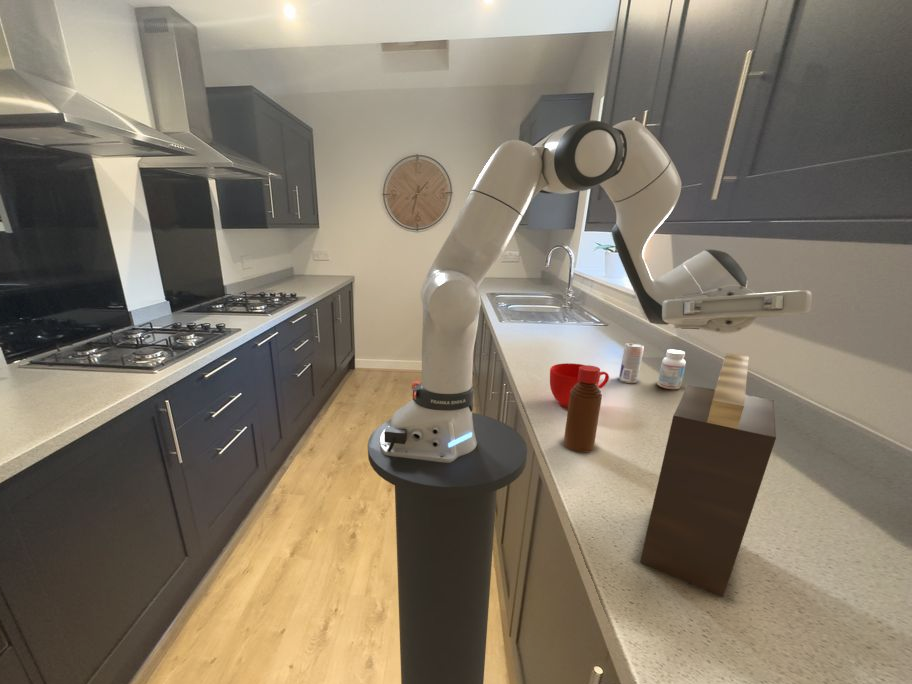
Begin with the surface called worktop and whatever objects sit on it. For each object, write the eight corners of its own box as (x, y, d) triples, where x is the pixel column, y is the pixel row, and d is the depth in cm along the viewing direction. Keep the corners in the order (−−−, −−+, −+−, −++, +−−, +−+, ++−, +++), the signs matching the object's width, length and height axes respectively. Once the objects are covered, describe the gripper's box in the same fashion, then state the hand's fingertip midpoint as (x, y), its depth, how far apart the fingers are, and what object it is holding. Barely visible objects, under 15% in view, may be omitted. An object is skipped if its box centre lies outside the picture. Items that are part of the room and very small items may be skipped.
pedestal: (657, 514, 71) (687, 384, 63) (729, 539, 65) (773, 399, 57) (639, 562, 61) (673, 415, 53) (723, 596, 55) (776, 437, 47)
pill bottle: (668, 382, 131) (676, 348, 127) (685, 388, 125) (693, 353, 121) (652, 384, 130) (659, 349, 126) (668, 390, 124) (676, 355, 120)
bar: (721, 370, 68) (725, 353, 67) (744, 373, 67) (749, 356, 66) (706, 422, 50) (712, 400, 49) (737, 429, 49) (744, 406, 48)
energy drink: (627, 377, 136) (634, 342, 132) (641, 382, 131) (648, 346, 127) (614, 379, 135) (620, 343, 130) (628, 384, 130) (634, 347, 126)
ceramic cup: (618, 409, 112) (625, 375, 109) (561, 414, 110) (565, 379, 106) (591, 392, 124) (595, 361, 121) (538, 396, 122) (541, 364, 118)
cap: (594, 377, 90) (596, 365, 89) (601, 383, 87) (603, 371, 86) (575, 377, 91) (576, 365, 90) (581, 383, 87) (582, 371, 86)
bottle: (568, 452, 91) (578, 376, 85) (560, 438, 97) (569, 366, 91) (598, 452, 91) (610, 376, 85) (587, 438, 97) (598, 366, 91)
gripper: (804, 323, 72) (820, 319, 61) (665, 328, 84) (658, 326, 73) (806, 286, 71) (823, 276, 60) (666, 297, 84) (659, 290, 73)
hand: (731, 303), depth 67 cm, fingers open, 8 cm apart
